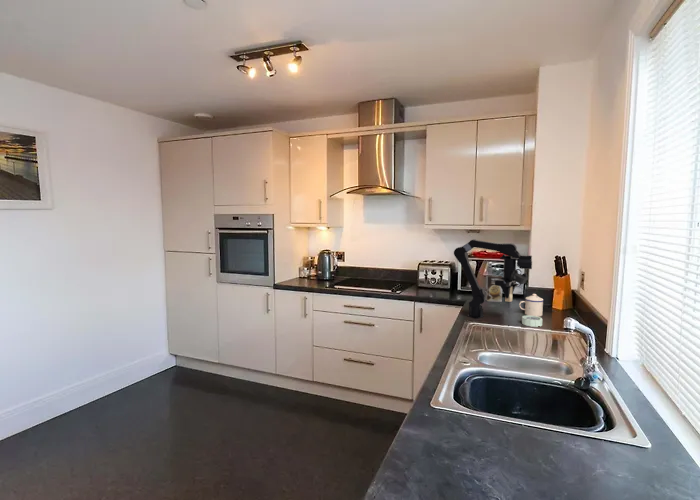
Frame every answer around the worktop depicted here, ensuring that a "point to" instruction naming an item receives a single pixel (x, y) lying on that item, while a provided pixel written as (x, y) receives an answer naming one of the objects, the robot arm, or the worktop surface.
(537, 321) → the light green piece
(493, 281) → the coffee box
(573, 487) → the worktop surface
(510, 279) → the robot arm
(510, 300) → the wooden square beam
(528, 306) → the teacup with lid
